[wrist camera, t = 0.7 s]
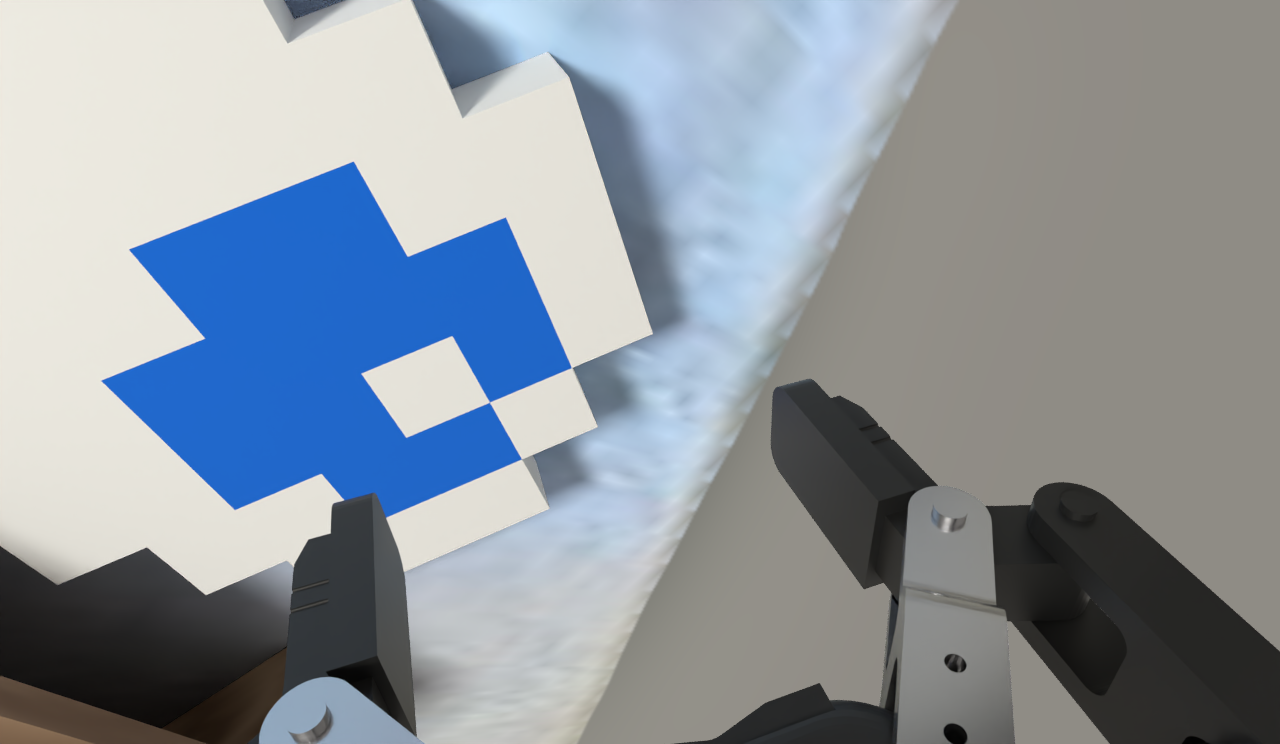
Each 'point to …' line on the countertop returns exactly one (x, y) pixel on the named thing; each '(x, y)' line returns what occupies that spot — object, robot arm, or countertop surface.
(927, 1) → the countertop surface
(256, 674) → the walnut shelf
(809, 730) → the robot arm
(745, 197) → the countertop surface
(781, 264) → the countertop surface
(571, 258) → the pixel art tile
